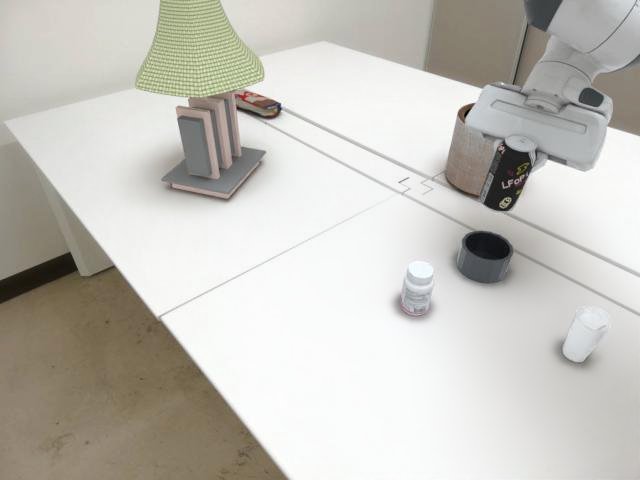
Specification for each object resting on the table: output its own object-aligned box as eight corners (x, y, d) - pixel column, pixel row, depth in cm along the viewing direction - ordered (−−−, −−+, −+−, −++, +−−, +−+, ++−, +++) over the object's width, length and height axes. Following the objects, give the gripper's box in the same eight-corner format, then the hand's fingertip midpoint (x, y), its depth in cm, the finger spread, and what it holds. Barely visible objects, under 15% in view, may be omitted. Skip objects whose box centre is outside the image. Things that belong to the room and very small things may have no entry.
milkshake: (560, 367, 67) (586, 322, 61) (555, 339, 71) (578, 294, 65) (594, 373, 66) (623, 328, 60) (586, 344, 70) (613, 299, 64)
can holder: (512, 262, 85) (519, 241, 82) (497, 290, 79) (504, 269, 76) (466, 245, 89) (472, 224, 86) (449, 270, 83) (454, 249, 80)
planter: (428, 171, 111) (439, 109, 101) (484, 155, 117) (499, 95, 107) (480, 208, 99) (498, 142, 89) (538, 188, 105) (561, 124, 95)
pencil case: (251, 96, 147) (250, 80, 144) (287, 115, 136) (286, 99, 133) (221, 104, 142) (219, 88, 139) (256, 125, 130) (254, 109, 127)
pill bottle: (406, 291, 79) (412, 255, 74) (432, 302, 77) (441, 265, 72) (395, 309, 76) (401, 272, 71) (422, 320, 74) (430, 283, 69)
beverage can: (519, 205, 75) (548, 142, 67) (502, 220, 72) (530, 157, 64) (489, 189, 78) (513, 126, 70) (471, 203, 75) (493, 139, 67)
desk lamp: (247, 216, 96) (222, 7, 71) (134, 192, 103) (75, -6, 78) (292, 159, 115) (285, -21, 90) (194, 142, 122) (162, -30, 97)
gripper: (485, 68, 73) (443, 145, 73) (625, 103, 62) (574, 192, 63) (491, 88, 78) (452, 159, 79) (621, 123, 67) (574, 205, 68)
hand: (507, 174), depth 71 cm, fingers closed on beverage can, 3 cm apart
